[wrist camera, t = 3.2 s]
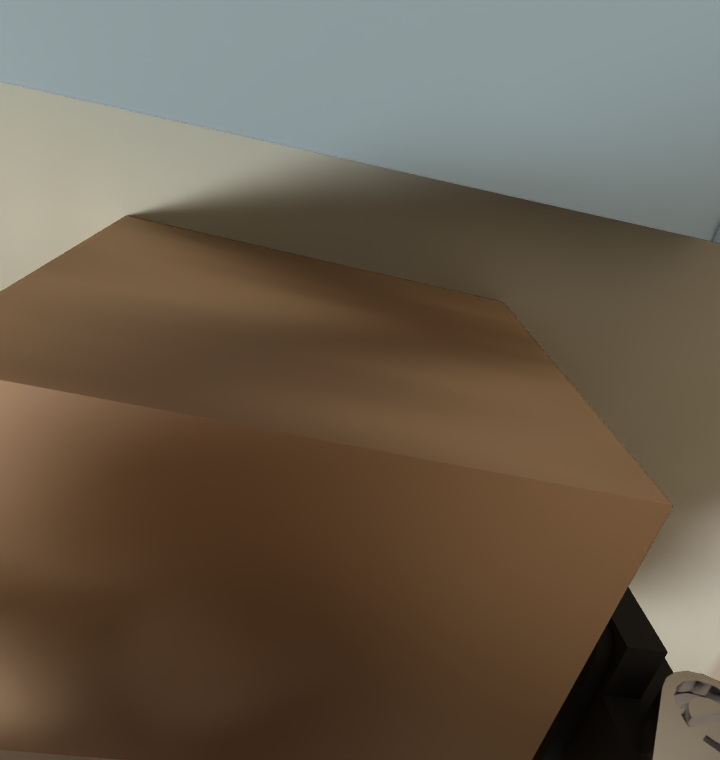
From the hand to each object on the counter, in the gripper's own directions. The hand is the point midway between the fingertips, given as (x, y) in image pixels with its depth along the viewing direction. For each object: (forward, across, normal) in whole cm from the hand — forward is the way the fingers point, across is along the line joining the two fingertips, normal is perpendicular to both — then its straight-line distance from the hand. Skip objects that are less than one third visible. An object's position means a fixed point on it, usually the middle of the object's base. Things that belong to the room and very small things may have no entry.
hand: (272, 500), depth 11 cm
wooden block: (+2, 0, 0) cm, 2 cm away
